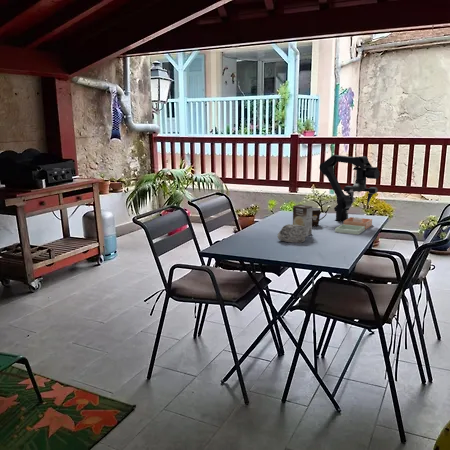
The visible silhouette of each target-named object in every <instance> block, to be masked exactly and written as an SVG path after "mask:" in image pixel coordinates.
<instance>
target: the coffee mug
mask: <svg viewBox="0 0 450 450" xmlns="http://www.w3.org/2000/svg"><path fill="white" fill-rule="evenodd" d="M322 212H324V213H325V215H324V216H323V217H321V214H322ZM326 216H327V211H326V210H321V208H320V207H312V228H313V227H318V226H320V225H319V224H320V223H319V222H320V221H321V220H323V219H324V218H326ZM320 217H321V218H320Z"/></svg>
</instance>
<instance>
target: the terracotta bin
mask: <svg viewBox="0 0 450 450" xmlns="http://www.w3.org/2000/svg"><path fill="white" fill-rule="evenodd" d="M353 218H355V217H354V216H351V217H348V219H346V220H345V221H344V222H343V224H345V225H355V226H364V227H365V230H368V229H369V228H371V226H373V218H366V217H365V218H363V217H362V218H363V223H361V222H353Z"/></svg>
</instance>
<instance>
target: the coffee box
mask: <svg viewBox="0 0 450 450" xmlns="http://www.w3.org/2000/svg"><path fill="white" fill-rule="evenodd" d="M312 208H313V206H312V205H304V204H297V205H293V207H292V225H293V224H294V225H301V226H307V227H308V228H307V230H306V236H305V238H306V237H309V236H310V235H312V234H313V232H312V231H313V227H312Z"/></svg>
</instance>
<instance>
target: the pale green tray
mask: <svg viewBox="0 0 450 450" xmlns="http://www.w3.org/2000/svg"><path fill="white" fill-rule="evenodd" d="M365 230H366V229H365V227H364V226H355V225H345V224H344V223H342V224H340V225H339V226H336V227H335V229H334V232H335V233H340V234H350V235H360V234H361V233H363V232H364V231H365Z"/></svg>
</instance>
